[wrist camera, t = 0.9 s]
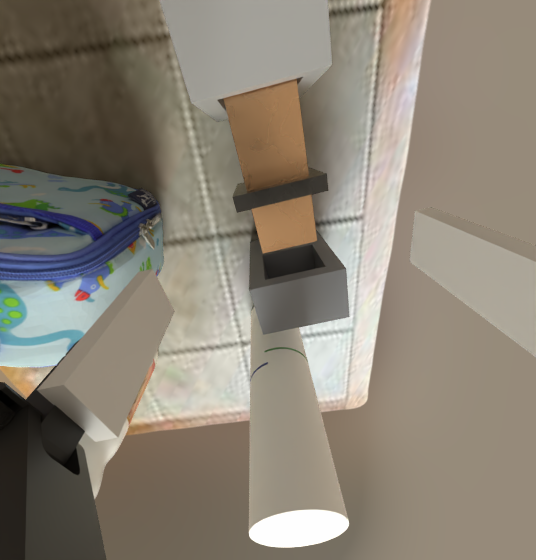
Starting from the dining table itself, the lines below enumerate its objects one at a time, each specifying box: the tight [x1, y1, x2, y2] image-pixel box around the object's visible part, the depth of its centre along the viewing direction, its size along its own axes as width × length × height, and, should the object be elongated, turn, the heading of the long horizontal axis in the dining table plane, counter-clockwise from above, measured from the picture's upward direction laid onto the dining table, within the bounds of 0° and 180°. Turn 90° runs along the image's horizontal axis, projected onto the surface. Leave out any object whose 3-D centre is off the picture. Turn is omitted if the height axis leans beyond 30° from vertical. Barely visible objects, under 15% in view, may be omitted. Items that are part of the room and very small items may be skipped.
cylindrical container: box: [249, 307, 349, 547], centre depth 28 cm, size 7×7×25 cm
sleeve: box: [160, 0, 332, 122], centre depth 18 cm, size 9×9×13 cm
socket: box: [249, 230, 349, 335], centre depth 28 cm, size 6×9×13 cm, turn 103°
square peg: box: [223, 78, 328, 253], centre depth 19 cm, size 21×7×7 cm, turn 13°
